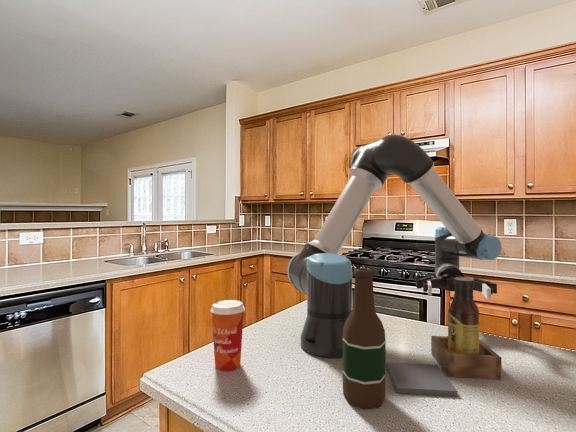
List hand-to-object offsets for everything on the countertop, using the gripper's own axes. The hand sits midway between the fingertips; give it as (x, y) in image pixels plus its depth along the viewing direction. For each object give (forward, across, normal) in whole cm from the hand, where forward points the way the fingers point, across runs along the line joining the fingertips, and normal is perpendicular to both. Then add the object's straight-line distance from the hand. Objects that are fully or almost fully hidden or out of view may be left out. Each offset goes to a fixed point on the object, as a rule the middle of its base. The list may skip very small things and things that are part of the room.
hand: (458, 292), depth 84 cm
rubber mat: (+22, +10, -14) cm, 28 cm away
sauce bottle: (+11, 0, -14) cm, 18 cm away
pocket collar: (+11, 0, -14) cm, 18 cm away
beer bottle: (+33, +20, -14) cm, 41 cm away
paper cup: (+31, +50, -14) cm, 60 cm away
